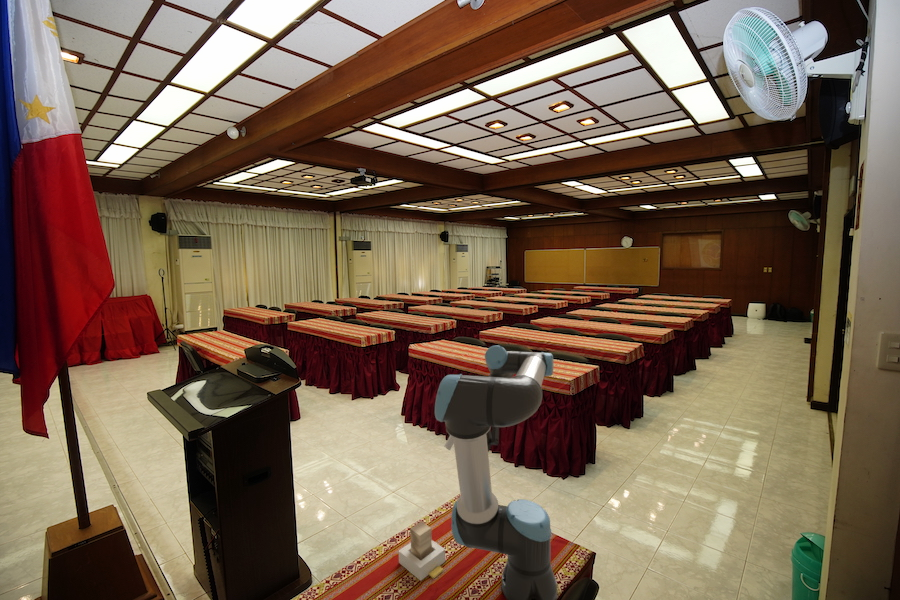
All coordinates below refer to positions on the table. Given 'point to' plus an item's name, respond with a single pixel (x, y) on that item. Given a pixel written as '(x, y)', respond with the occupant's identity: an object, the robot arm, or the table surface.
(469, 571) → the table surface
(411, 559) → the socket block
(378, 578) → the table surface
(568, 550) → the table surface
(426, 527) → the beech peg
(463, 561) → the table surface
